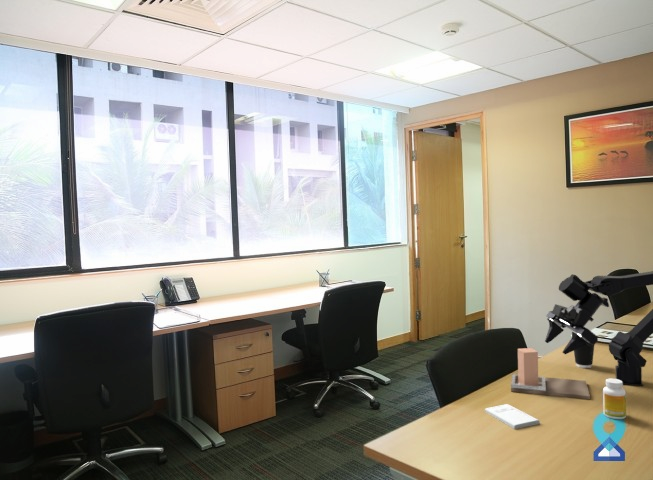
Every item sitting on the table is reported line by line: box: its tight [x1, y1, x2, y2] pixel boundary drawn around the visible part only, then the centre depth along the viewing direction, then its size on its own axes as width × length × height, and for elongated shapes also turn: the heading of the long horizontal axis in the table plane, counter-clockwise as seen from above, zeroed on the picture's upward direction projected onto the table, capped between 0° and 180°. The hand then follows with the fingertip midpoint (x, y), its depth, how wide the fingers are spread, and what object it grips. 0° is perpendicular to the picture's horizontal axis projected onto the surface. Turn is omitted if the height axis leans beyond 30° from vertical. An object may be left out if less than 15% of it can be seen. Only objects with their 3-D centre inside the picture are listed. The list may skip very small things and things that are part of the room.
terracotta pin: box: [517, 347, 539, 386], centre depth 155 cm, size 4×4×11 cm
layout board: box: [510, 373, 591, 400], centre depth 155 cm, size 22×14×2 cm, turn 66°
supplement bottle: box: [602, 377, 627, 420], centre depth 132 cm, size 5×5×10 cm
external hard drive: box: [484, 403, 540, 430], centre depth 134 cm, size 2×8×12 cm
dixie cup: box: [570, 332, 595, 369], centre depth 174 cm, size 8×8×11 cm
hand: (554, 347), depth 156 cm, fingers open, 9 cm apart
